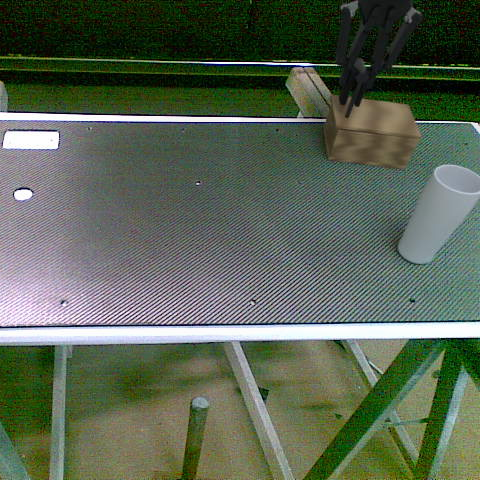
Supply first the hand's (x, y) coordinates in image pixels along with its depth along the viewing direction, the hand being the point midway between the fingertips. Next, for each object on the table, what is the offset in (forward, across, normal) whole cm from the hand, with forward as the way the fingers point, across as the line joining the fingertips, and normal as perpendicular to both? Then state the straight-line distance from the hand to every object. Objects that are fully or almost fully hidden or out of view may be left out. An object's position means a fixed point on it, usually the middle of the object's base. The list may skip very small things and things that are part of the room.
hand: (348, 102), depth 90 cm
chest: (+10, -6, 0) cm, 11 cm away
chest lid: (+3, -5, 0) cm, 6 cm away
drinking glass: (+10, -10, +29) cm, 32 cm away
